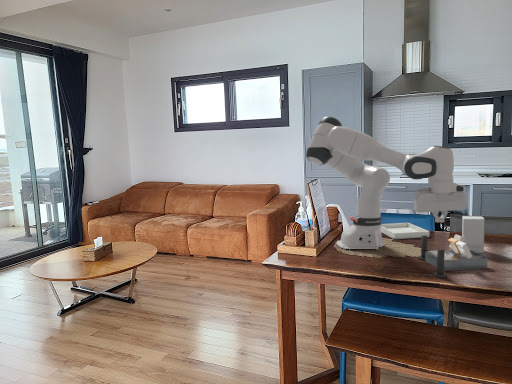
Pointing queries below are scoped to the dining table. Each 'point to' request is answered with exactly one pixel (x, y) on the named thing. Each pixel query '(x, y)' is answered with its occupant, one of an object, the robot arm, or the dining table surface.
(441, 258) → the cord posts
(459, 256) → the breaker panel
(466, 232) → the skincare box
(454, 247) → the paddle amber
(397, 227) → the tray
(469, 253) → the paddle
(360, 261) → the dining table surface
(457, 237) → the paddle
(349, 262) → the dining table surface
